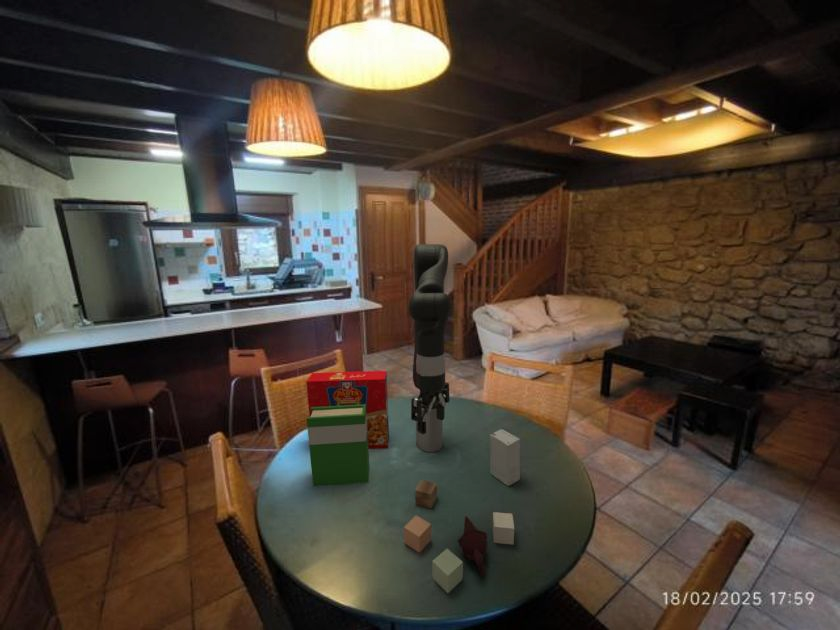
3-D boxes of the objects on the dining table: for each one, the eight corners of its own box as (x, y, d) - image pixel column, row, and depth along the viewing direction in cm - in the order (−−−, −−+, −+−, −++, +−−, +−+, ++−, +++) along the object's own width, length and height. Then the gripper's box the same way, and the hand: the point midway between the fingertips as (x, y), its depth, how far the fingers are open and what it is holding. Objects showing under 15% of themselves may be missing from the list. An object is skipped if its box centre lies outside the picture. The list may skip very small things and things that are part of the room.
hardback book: (313, 486, 116) (306, 418, 110) (317, 471, 123) (311, 407, 118) (368, 482, 117) (364, 415, 112) (369, 467, 125) (365, 404, 119)
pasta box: (312, 451, 135) (306, 381, 128) (318, 439, 142) (312, 372, 136) (388, 448, 135) (385, 379, 129) (389, 436, 143) (386, 370, 137)
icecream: (450, 511, 96) (462, 565, 82) (476, 503, 96) (493, 555, 82) (455, 529, 99) (469, 585, 84) (481, 521, 99) (499, 576, 85)
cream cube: (493, 542, 94) (494, 526, 93) (492, 527, 99) (493, 512, 98) (513, 544, 93) (514, 528, 92) (511, 529, 98) (512, 513, 97)
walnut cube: (415, 504, 108) (415, 489, 106) (421, 493, 112) (421, 479, 111) (431, 509, 106) (430, 494, 105) (436, 497, 110) (436, 483, 109)
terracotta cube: (404, 543, 94) (403, 527, 93) (416, 530, 98) (415, 515, 97) (419, 553, 91) (419, 536, 90) (431, 540, 95) (430, 524, 94)
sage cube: (432, 578, 85) (432, 561, 84) (447, 565, 88) (447, 548, 87) (447, 593, 81) (447, 575, 80) (462, 579, 84) (462, 561, 83)
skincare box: (520, 480, 117) (522, 439, 114) (507, 487, 114) (508, 445, 110) (501, 466, 124) (502, 427, 120) (488, 473, 121) (489, 433, 117)
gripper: (434, 358, 101) (435, 411, 105) (402, 374, 90) (403, 433, 94) (457, 364, 97) (457, 419, 100) (426, 381, 86) (427, 442, 89)
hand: (431, 425), depth 97 cm, fingers open, 8 cm apart
